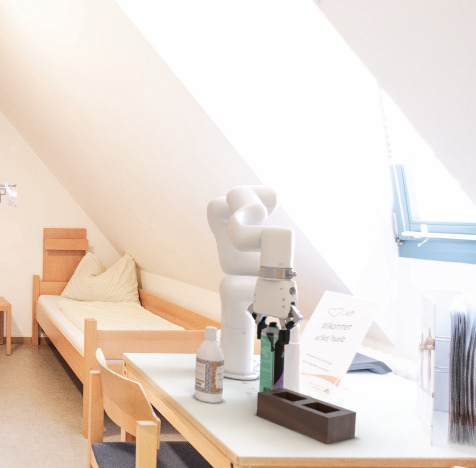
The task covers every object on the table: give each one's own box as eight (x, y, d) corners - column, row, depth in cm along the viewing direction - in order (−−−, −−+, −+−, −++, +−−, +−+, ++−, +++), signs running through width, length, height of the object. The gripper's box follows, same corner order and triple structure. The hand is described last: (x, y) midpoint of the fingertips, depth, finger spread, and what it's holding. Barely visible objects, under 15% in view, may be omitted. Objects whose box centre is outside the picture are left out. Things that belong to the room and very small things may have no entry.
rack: (283, 410, 139) (284, 387, 139) (354, 437, 123) (356, 412, 122) (256, 415, 135) (257, 392, 135) (326, 444, 119) (328, 417, 119)
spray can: (285, 401, 138) (287, 324, 137) (261, 398, 139) (263, 322, 139) (280, 395, 143) (282, 321, 142) (257, 392, 144) (259, 319, 144)
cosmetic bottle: (287, 403, 144) (291, 323, 143) (273, 395, 151) (276, 318, 149) (308, 403, 145) (312, 323, 144) (293, 395, 151) (297, 318, 150)
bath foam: (212, 405, 142) (216, 331, 141) (189, 397, 148) (192, 326, 147) (227, 400, 146) (230, 328, 145) (203, 392, 151) (206, 323, 150)
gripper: (318, 277, 133) (314, 348, 134) (256, 269, 149) (253, 333, 150) (297, 278, 131) (294, 351, 131) (237, 270, 146) (234, 335, 147)
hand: (272, 341), depth 141 cm, fingers closed on spray can, 5 cm apart
